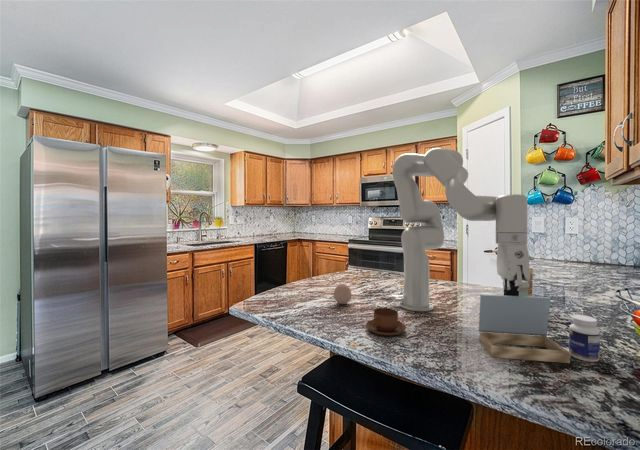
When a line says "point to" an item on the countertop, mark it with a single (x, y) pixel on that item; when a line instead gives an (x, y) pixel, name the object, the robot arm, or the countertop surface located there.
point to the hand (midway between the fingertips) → (511, 303)
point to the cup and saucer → (385, 322)
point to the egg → (342, 294)
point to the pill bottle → (584, 338)
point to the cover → (514, 314)
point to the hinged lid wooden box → (551, 355)
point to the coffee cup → (523, 288)
